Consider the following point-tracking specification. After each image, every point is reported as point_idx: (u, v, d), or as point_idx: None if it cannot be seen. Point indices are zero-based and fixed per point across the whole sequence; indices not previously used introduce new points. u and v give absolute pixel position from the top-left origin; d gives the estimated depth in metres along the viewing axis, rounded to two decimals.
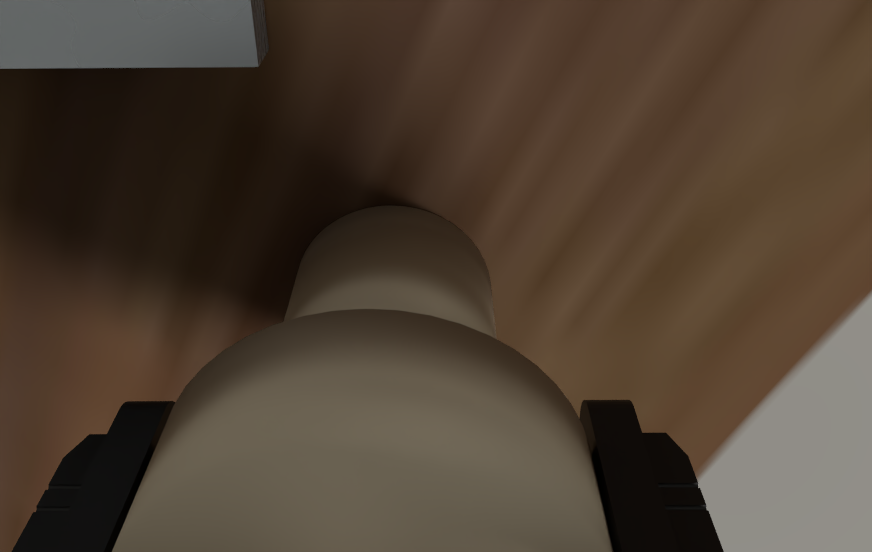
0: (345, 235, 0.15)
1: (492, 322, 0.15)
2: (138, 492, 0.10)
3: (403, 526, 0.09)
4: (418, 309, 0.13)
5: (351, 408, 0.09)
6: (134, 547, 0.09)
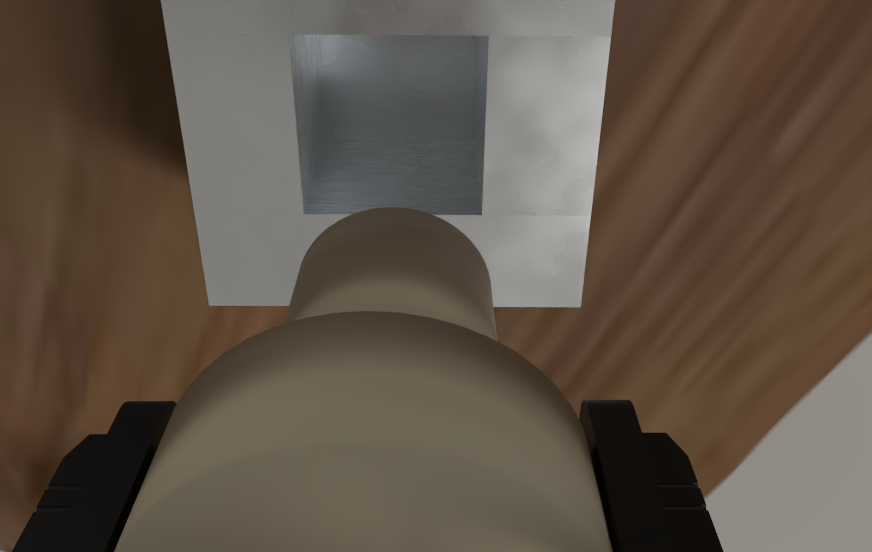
0: (345, 237, 0.15)
1: (492, 323, 0.15)
2: (139, 494, 0.10)
3: (404, 529, 0.09)
4: (418, 311, 0.13)
5: (352, 410, 0.09)
6: (136, 549, 0.09)
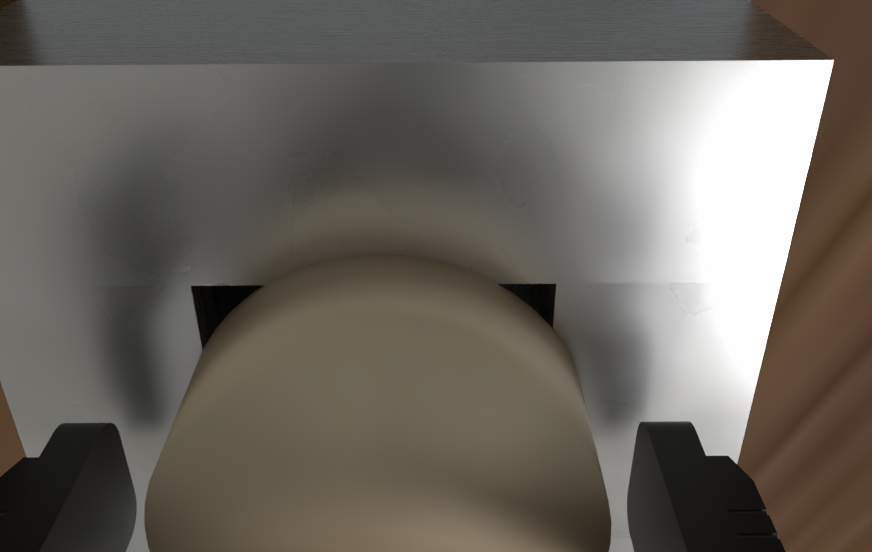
0: None
1: None
2: (178, 414, 0.11)
3: (414, 438, 0.11)
4: None
5: (368, 333, 0.10)
6: (177, 458, 0.11)
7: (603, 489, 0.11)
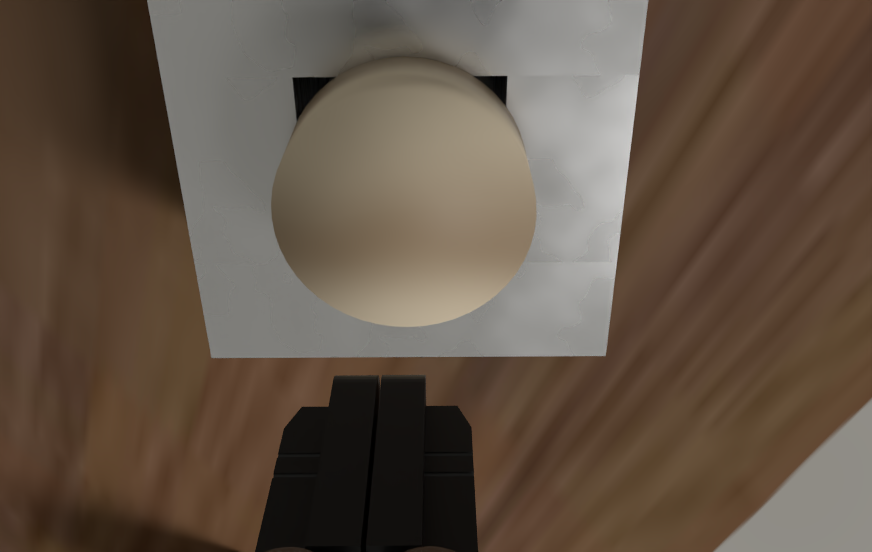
0: None
1: None
2: (290, 139, 0.20)
3: (425, 142, 0.19)
4: None
5: (400, 81, 0.19)
6: (293, 155, 0.19)
7: (530, 177, 0.20)
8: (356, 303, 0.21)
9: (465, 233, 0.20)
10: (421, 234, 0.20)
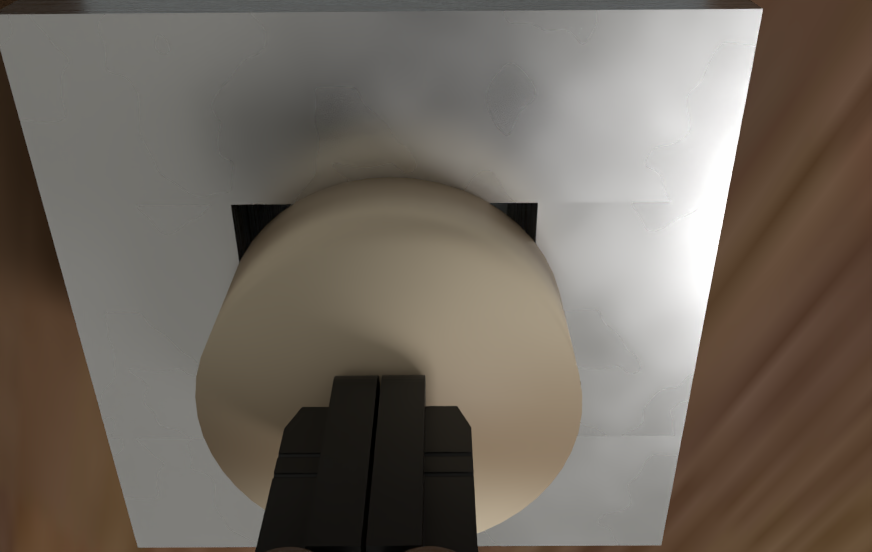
0: None
1: None
2: (223, 305, 0.14)
3: (419, 318, 0.13)
4: None
5: (382, 230, 0.13)
6: (224, 336, 0.13)
7: (574, 364, 0.13)
8: None
9: (478, 434, 0.14)
10: None
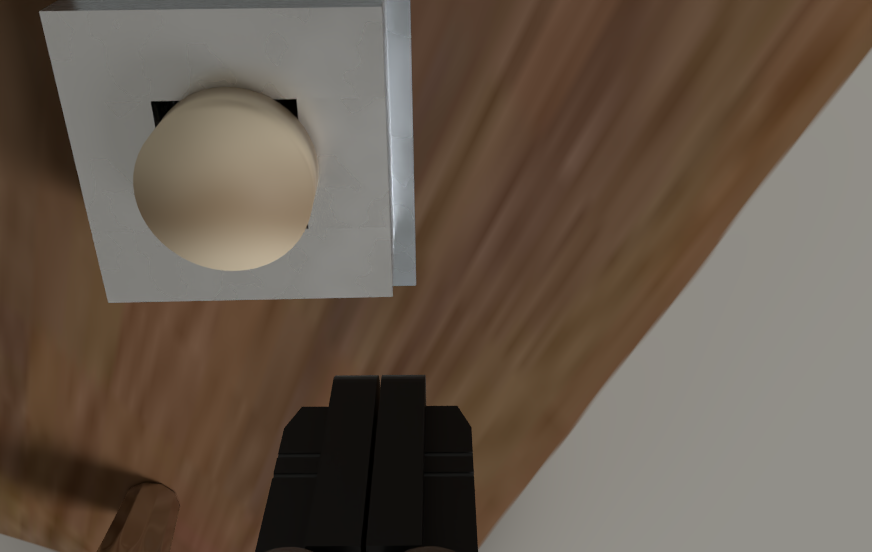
0: None
1: None
2: None
3: (231, 143, 0.29)
4: None
5: (213, 103, 0.29)
6: (145, 152, 0.29)
7: (304, 166, 0.30)
8: (198, 254, 0.31)
9: (266, 203, 0.30)
10: (236, 205, 0.30)
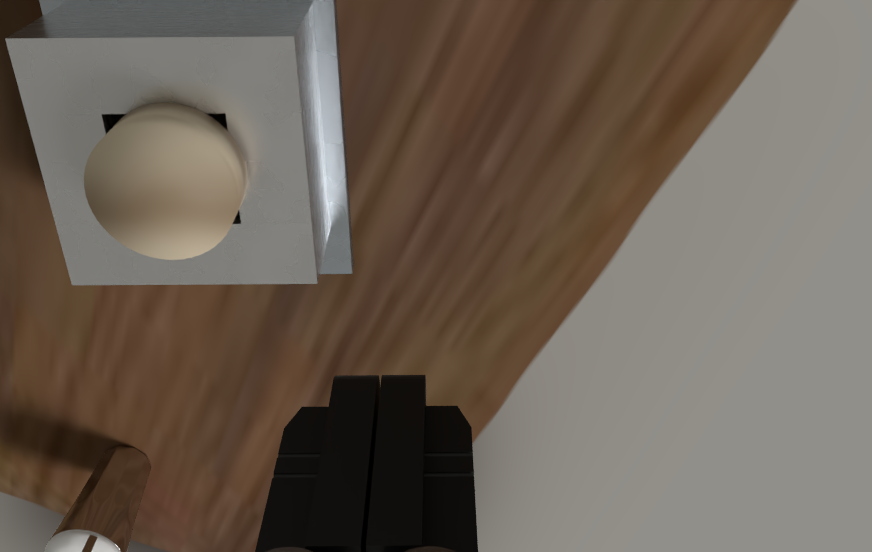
0: None
1: None
2: None
3: (165, 152, 0.34)
4: None
5: (150, 118, 0.34)
6: (93, 159, 0.35)
7: (228, 171, 0.35)
8: (141, 245, 0.37)
9: (197, 203, 0.36)
10: (172, 204, 0.36)
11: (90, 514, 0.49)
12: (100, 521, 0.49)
